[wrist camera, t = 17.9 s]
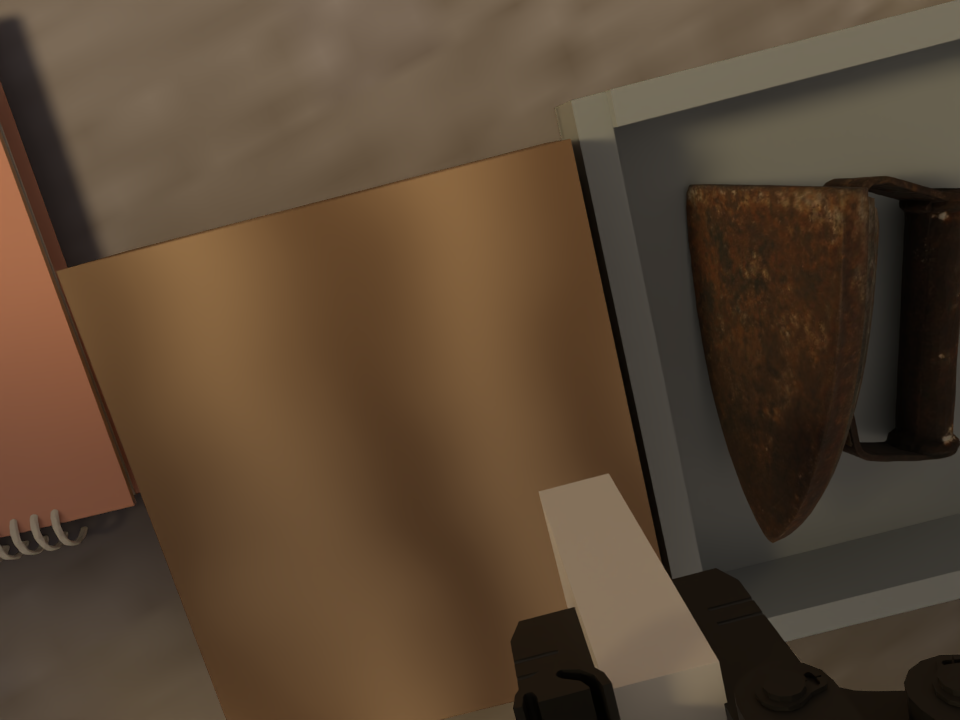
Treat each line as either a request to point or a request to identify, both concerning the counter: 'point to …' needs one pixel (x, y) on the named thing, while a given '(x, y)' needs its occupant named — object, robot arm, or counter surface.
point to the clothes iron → (820, 329)
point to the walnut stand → (367, 430)
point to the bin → (674, 320)
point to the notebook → (46, 378)
